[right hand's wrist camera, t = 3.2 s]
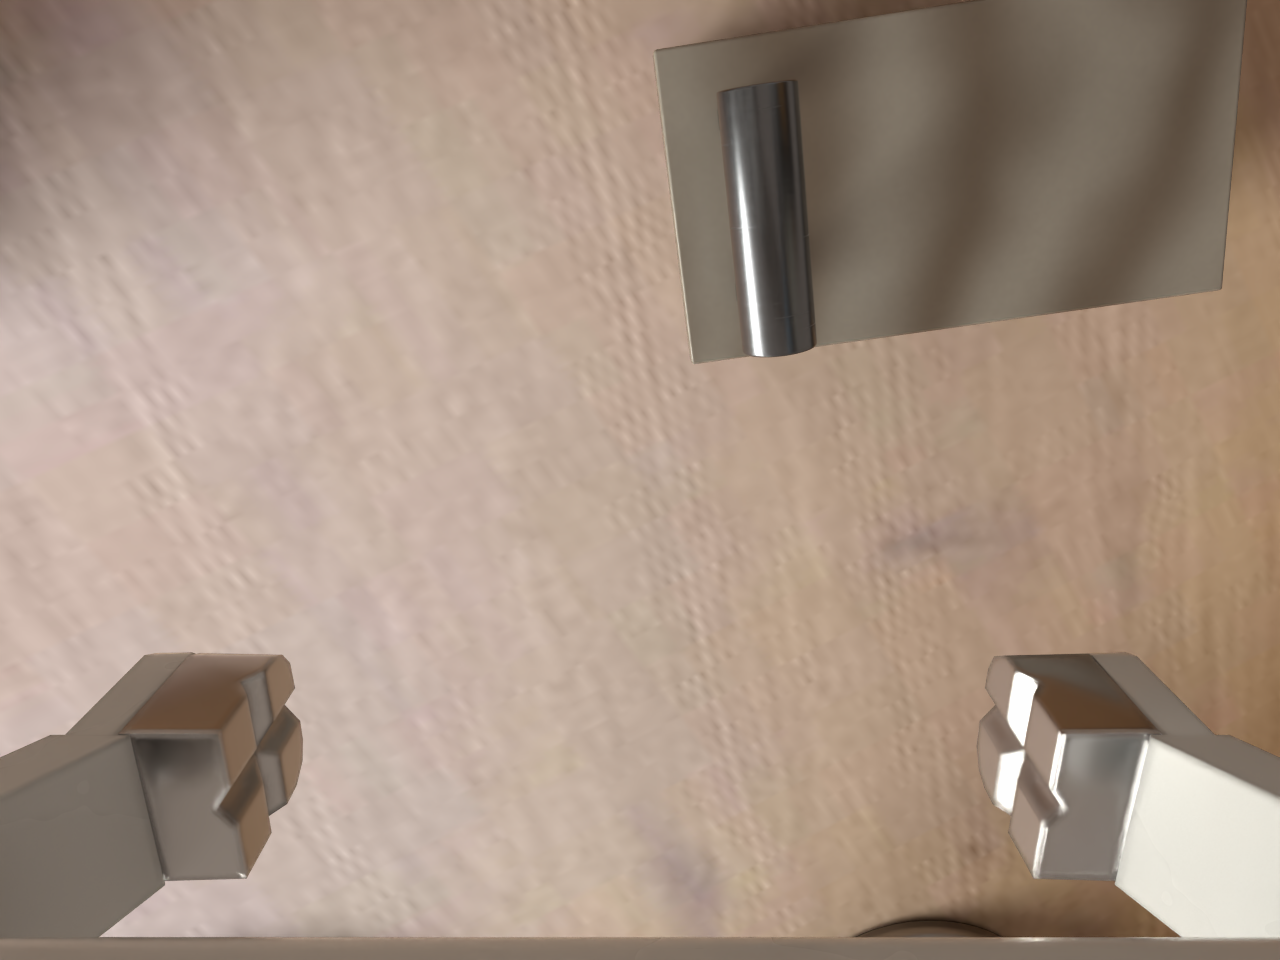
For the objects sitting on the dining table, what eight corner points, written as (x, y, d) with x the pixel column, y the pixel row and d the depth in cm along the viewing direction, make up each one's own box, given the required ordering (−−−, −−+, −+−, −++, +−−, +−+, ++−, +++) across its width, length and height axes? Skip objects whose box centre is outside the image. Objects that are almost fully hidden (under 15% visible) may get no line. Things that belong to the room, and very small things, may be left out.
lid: (690, 358, 30) (711, 431, 22) (652, 52, 27) (661, 13, 19) (1204, 285, 29) (1411, 335, 21) (1230, -37, 26) (1485, -116, 18)
